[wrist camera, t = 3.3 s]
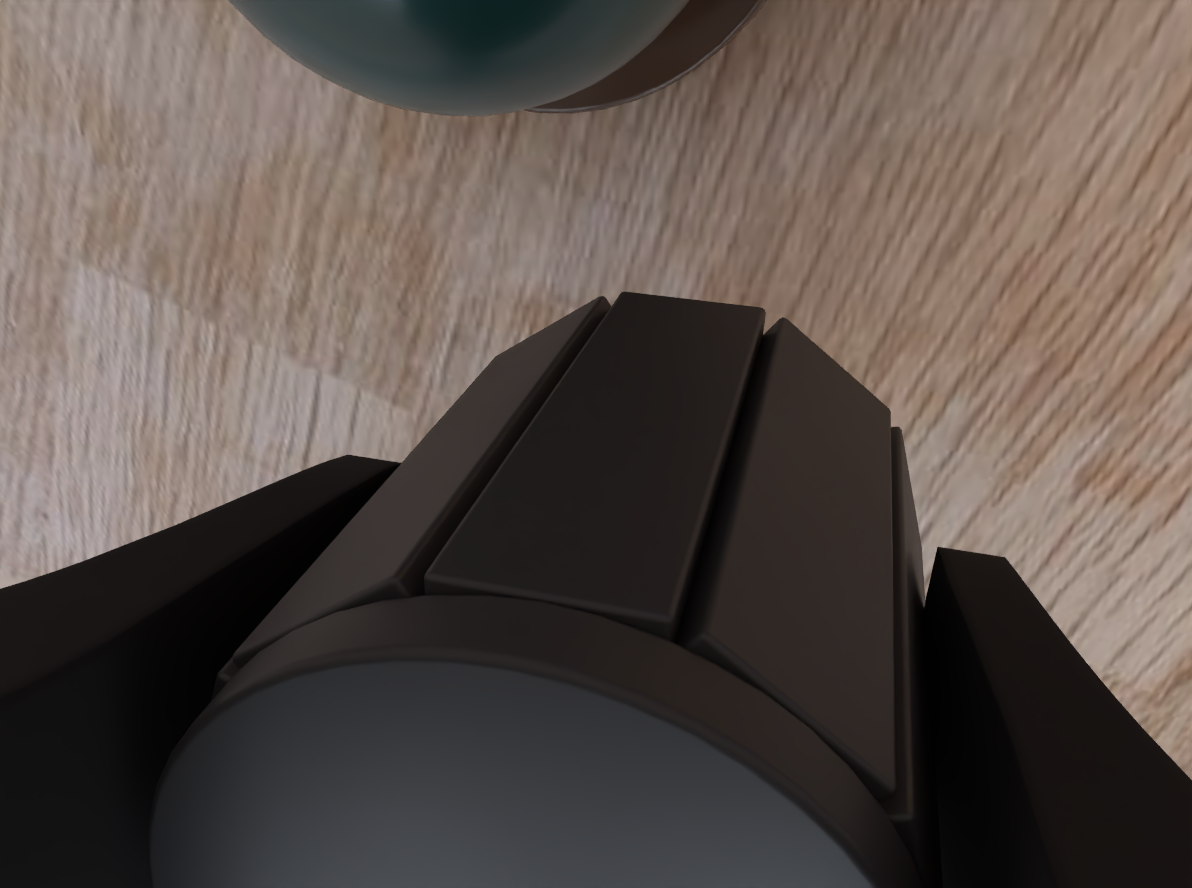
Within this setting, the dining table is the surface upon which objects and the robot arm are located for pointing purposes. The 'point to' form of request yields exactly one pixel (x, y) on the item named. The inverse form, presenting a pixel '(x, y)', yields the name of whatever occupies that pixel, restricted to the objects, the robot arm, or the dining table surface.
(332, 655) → the black cap
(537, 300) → the dining table surface
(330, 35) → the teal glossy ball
